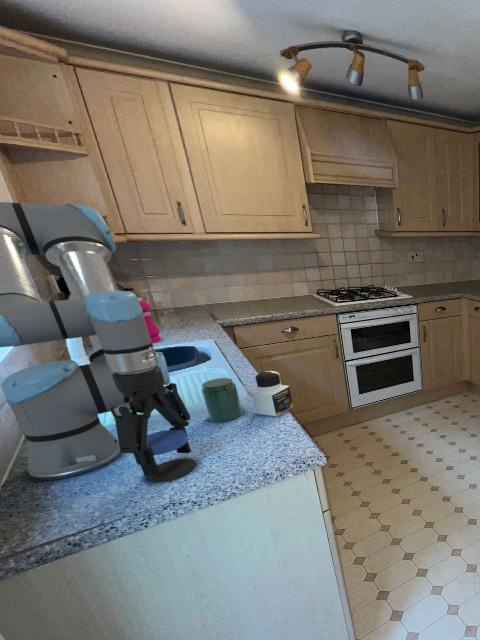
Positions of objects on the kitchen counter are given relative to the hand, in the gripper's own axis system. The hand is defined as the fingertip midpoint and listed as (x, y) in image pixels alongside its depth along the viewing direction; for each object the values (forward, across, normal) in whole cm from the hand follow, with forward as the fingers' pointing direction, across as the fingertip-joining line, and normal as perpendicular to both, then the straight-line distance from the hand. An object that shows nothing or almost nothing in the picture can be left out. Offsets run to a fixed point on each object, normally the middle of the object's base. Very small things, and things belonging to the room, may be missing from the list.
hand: (168, 463), depth 91 cm
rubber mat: (+2, 0, 0) cm, 2 cm away
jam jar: (+2, +28, +6) cm, 29 cm away
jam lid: (-6, 0, 0) cm, 6 cm away
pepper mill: (+3, +102, +89) cm, 135 cm away
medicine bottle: (+2, +32, -6) cm, 33 cm away
